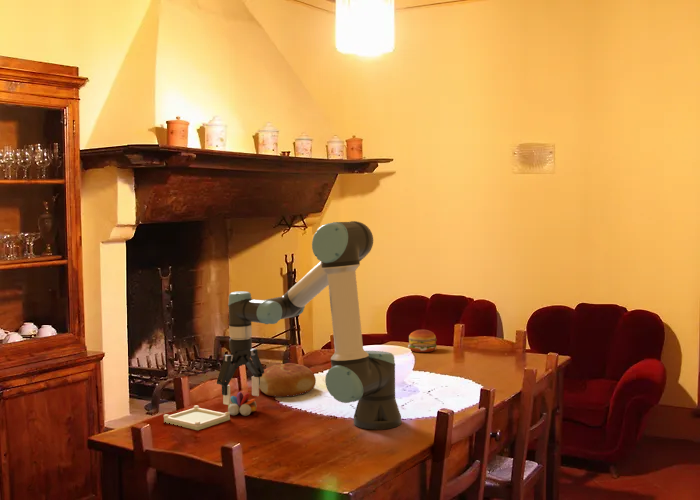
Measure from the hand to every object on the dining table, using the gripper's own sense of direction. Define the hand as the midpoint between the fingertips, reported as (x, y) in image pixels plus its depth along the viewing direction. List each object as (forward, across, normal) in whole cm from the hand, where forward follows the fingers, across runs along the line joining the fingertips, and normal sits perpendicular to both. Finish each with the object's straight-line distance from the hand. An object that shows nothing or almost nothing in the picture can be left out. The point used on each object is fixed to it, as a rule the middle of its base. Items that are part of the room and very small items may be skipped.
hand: (241, 399), depth 263 cm
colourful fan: (+5, 0, 0) cm, 5 cm away
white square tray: (+5, +15, -6) cm, 17 cm away
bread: (+5, -31, -8) cm, 32 cm away
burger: (+5, -123, -4) cm, 123 cm away
